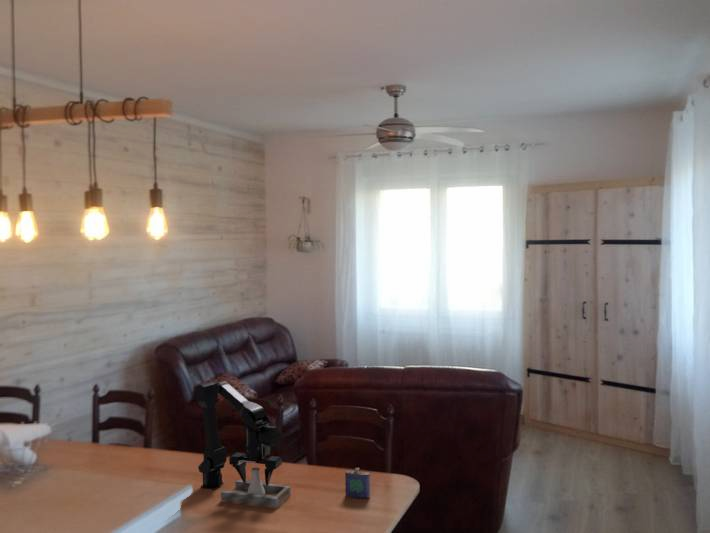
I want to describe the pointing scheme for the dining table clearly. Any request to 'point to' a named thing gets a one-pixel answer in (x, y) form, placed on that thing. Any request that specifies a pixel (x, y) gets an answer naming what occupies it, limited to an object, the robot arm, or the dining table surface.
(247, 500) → the grey rectangular tray
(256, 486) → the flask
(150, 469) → the dining table surface
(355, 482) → the flask
